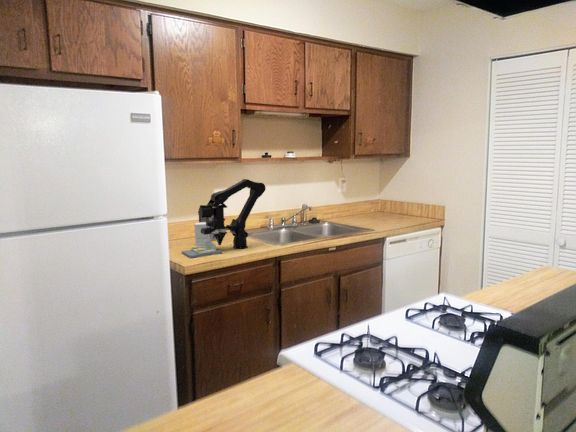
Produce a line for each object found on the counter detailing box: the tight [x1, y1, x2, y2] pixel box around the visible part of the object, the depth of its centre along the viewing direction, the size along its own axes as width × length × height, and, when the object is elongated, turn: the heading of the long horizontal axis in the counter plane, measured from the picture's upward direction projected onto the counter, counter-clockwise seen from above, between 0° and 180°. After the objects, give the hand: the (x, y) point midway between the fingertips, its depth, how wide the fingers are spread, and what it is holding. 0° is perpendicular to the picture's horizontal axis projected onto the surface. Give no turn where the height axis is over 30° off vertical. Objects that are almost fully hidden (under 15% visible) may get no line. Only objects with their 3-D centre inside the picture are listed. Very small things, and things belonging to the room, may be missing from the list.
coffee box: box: [198, 216, 217, 242], centre depth 256 cm, size 9×6×16 cm
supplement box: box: [194, 221, 211, 247], centre depth 243 cm, size 7×7×13 cm
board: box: [181, 245, 223, 259], centre depth 222 cm, size 18×13×4 cm
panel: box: [190, 240, 217, 254], centre depth 222 cm, size 9×12×4 cm
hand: (219, 245), depth 228 cm, fingers closed
